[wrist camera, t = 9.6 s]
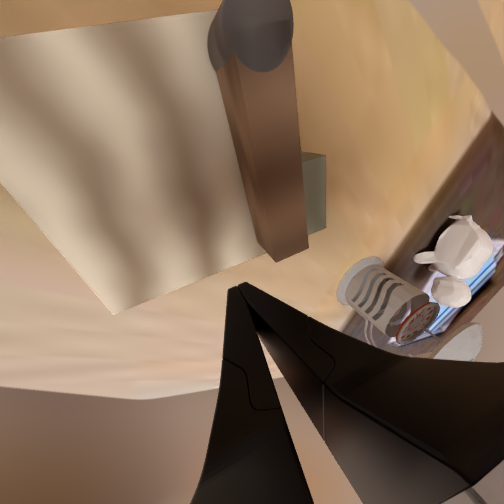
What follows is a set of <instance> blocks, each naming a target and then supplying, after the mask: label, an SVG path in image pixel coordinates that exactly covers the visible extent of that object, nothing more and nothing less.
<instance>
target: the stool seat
mask: <svg viewBox="0 0 504 504" xmlns="http://www.w3.org/2000/svg"><path fill="white" fill-rule="evenodd" d="M217 11H218V10H211V11H203V12H195V13H187V14H179V15H172V16H164V17H156V18H148V19H140V20H133V21H125V22H117V23H109V24H101V25H93V26H86V27H78V28H70V29H62V30H54V31H47V32H39V33H31V34H23V35H15V36H8V37H0V183H1V184H2V185H3V187H4V188H5V189H6V190H7V191H8V192H9V194H10V195H11V196H12V197H13V198H14V199H15V201H16V202H17V203H18V204H19V205H20V206H21V208H22V209H23V210H24V211H25V212H26V213H27V215H28V216H29V217H30V218H31V219H32V220H33V222H34V223H35V224H36V225H37V226H38V228H39V229H40V230H41V231H42V232H43V233H44V235H45V236H46V237H47V238H48V239H49V240H50V242H51V243H52V244H53V245H54V246H55V247H56V249H57V250H58V251H59V252H60V253H61V254H62V256H63V257H64V258H65V259H66V260H67V261H68V263H69V264H70V265H71V266H72V267H73V268H74V270H75V271H76V272H77V273H78V274H79V275H80V277H81V278H82V279H83V280H84V281H85V282H86V284H87V285H88V286H89V287H90V288H91V290H92V291H93V292H94V293H95V294H96V295H97V297H98V298H99V299H100V300H101V301H102V302H103V304H104V305H105V306H106V307H107V308H108V309H109V311H110V312H111V313H112V314H113V315H114V314H117V313H119V312H122V311H124V310H127V309H129V308H132V307H134V306H137V305H139V304H142V303H144V302H147V301H149V300H151V299H154V298H156V297H159V296H161V295H164V294H166V293H169V292H171V291H174V290H176V289H179V288H181V287H184V286H186V285H189V284H191V283H193V282H196V281H198V280H201V279H203V278H206V277H208V276H211V275H213V274H216V273H218V272H221V271H223V270H226V269H228V268H231V267H233V266H235V265H238V264H240V263H243V262H245V261H248V260H250V259H253V258H255V257H258V256H260V255H263V254H265V253H267V252H266V251H265V250H264V249H263V248H262V247H261V246H260V245H259V244H258V242H257V239H256V234H255V230H254V226H253V222H252V218H251V214H250V210H249V206H248V202H247V197H246V193H245V189H244V185H243V181H242V177H241V173H240V169H239V165H238V160H237V156H236V152H235V148H234V144H233V140H232V136H231V132H230V128H229V123H228V119H227V115H226V111H225V107H224V103H223V99H222V95H221V91H220V86H219V82H218V78H217V74H216V71H215V70H214V68H213V66H212V64H211V61H210V58H209V54H208V47H207V38H208V31H209V28H210V25H211V23H212V21H213V19H214V17H215V15H216V13H217ZM301 160H302V172H303V184H304V196H305V208H306V220H307V232H308V235H309V234H312V233H314V232H317V231H319V230H322V229H324V228H326V155H321V154H314V153H306V152H301Z"/></svg>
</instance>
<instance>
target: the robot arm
mask: <svg viewBox="0 0 504 504" xmlns="http://www.w3.org/2000/svg"><path fill="white" fill-rule="evenodd" d="M258 336H259V337H258ZM259 338H260V339H261V341H262V343H263V344H264V346H265V347H266V349H267V351H268V352H269V354H270V355H271V357H272V359H273V360H274V362H275V363H276V365H277V367H278V368H279V370H280V371H281V373H282V375H283V376H284V378H285V379H286V381H287V382H288V384H289V386H290V387H291V389H292V390H293V392H294V394H295V395H296V397H297V398H298V400H299V402H300V403H301V405H302V407H303V408H304V410H305V411H306V413H307V414H308V416H309V417H310V419H311V421H312V423H313V424H314V426H315V427H316V429H317V431H318V432H319V434H320V435H321V437H322V438H323V440H324V441H325V443H326V445H327V446H328V448H329V450H330V451H331V453H332V455H333V456H334V458H335V459H336V461H337V463H338V464H339V466H340V467H341V469H342V470H343V472H344V474H345V475H346V477H347V479H348V480H349V482H350V483H351V485H352V487H353V488H354V490H355V491H356V493H357V495H358V496H359V498H360V499H361V501H362V503H363V504H504V362H499V363H492V362H490V363H489V362H474V361H460V360H445V359H431V358H417V357H407V356H401V355H397V354H393V353H390V352H387V351H384V350H382V349H379V348H377V347H375V346H372V345H370V344H367V343H365V342H363V341H360V340H358V339H356V338H353V337H351V336H348V335H346V334H344V333H342V332H339V331H337V330H335V329H333V328H330V327H328V326H326V325H324V324H323V323H321V322H319V321H317V320H315V319H313V318H311V317H308V316H307V315H306V314H304V313H302V312H300V311H298V310H297V309H295V308H293V307H291V306H289V305H287V304H286V303H284V302H282V301H280V300H278V299H277V298H275V297H273V296H271V295H269V294H267V293H266V292H264V291H262V290H260V289H258V288H256V287H255V286H253V285H251V284H249V283H247V282H244V283H241V284H239V285H238V286H234V287H232V288H230V289H228V293H227V305H226V318H225V331H224V344H223V357H222V358H223V360H222V368H221V378H220V386H219V393H218V398H217V404H216V409H215V414H214V419H213V424H212V429H211V434H210V439H209V444H208V449H207V454H206V458H205V462H204V467H203V470H202V474H201V477H200V480H199V483H198V486H197V488H196V491H195V494H194V496H193V498H192V501H191V503H190V504H314V502H313V499H312V496H311V493H310V490H309V487H308V484H307V482H306V479H305V476H304V473H303V470H302V467H301V464H300V461H299V458H298V455H297V452H296V450H295V447H294V444H293V441H292V438H291V435H290V432H289V429H288V426H287V423H286V420H285V417H284V414H283V411H282V408H281V405H280V402H279V399H278V395H277V392H276V389H275V386H274V383H273V380H272V377H271V374H270V371H269V368H268V365H267V362H266V359H265V356H264V352H263V349H262V346H261V343H260V340H259Z"/></svg>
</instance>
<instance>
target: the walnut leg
mask: <svg viewBox="0 0 504 504" xmlns="http://www.w3.org/2000/svg"><path fill="white" fill-rule="evenodd" d="M292 37H293V12H292V7H291V3H290V0H223V2H222V4H221V5H220V7H219V9H218V11H217V13H216V15H215V17H214V19H213V21H212V23H211V25H210V28H209V31H208V38H207V47H208V54H209V58H210V61H211V64H212V66H213V68H214V70H215V71H216V74H217V78H218V82H219V86H220V91H221V95H222V99H223V103H224V107H225V111H226V115H227V119H228V123H229V128H230V132H231V136H232V140H233V144H234V148H235V152H236V156H237V160H238V165H239V169H240V173H241V177H242V181H243V185H244V189H245V193H246V197H247V202H248V206H249V210H250V214H251V218H252V222H253V226H254V230H255V234H256V239H257V242H258V244H259V245H260V246H261V247H262V248H263V249H264V250H265V251H266V252H267V253H268V254H269V255H270V256H271V258H272V259H273V260H274V261H275V262H279V261H281V260H283V259H285V258H288V257H290V256H292V255H294V254H297V253H299V252H301V251H303V250H306V249H308V248H309V244H308V232H307V220H306V208H305V196H304V184H303V172H302V160H301V148H300V136H299V124H298V112H297V100H296V88H295V76H294V64H293V52H292Z"/></svg>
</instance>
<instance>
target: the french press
mask: <svg viewBox="0 0 504 504" xmlns="http://www.w3.org/2000/svg"><path fill="white" fill-rule="evenodd" d="M386 278H390V279H389V280H388V281H387V282H386ZM394 279H395V280H394ZM393 283H397V284H396V288H395V289H394V290H393V291H392V287H393ZM402 284H403V285H402ZM387 289H388V297H387V299H386V301H385V303H384V304H383V305H382V303H383V301H384V297H385V294H386V291H387ZM411 298H412V300H411V312H410V315H409V316H408V317H406V318H405V320H404V321H403V322H402V323H401V324H399V325H394V326H391V325H390V324H389V323H390V322H395V321H397V320H399V319H401V318H402V317H403V315H404V314H405V312H406V308H407V301H408V300H410V299H411ZM337 299H338V301H339V302H340V303H341V304H342V305H350V306H351V307H352V308H354V309H355V310H356V311H357V312H358V313H359V314H360V315H361V316H362V317H364V318H365V320H366V323H365V329H364V331H365V338H366V340H367V343H368V344H370V342H369V340H368V338H367V334H366V329H367V325H368V320H369V321H370V322H371V326H370V339H371V341H372V343H373V345H374V346H375V347H377V346H376V345H375V343H374V341H373V339H372V327H373V324H374V325H375V326H376V327H377V328H378V329H380V330H381V331H382V332H383V333H384V334H385V333H386V334H387V335H388V336H390V337H396V341H397V343H399V344H401V345H402V344H408V343H410V342H412V341H413V340H415V339H416V337H418V336H420V334H421V333H424V331H425V332H428V333H429V334H430V335H432V336H433V337H435V338H436V339H437V340H439V341H440V342H441V343H440V344H439V345H438V346H437V347H436V348H435V350H434V351H433V352H432V353H431V354H430V356H429V357H428V358H431V359H445V360H460V361H474V362H475V360H474V359H475V357H476V355H477V354H478V353H479V351H480V349H481V345H482V326H481V324H479V323H474V322H473V323H471V322H469V323H467V324H465V325H463V326H461V327H460V328H458V329H457V330H455V331H454V332H453V333H451V334H450V335H449V336H448V337H447V338H446V339H444V340H443V341H442V340H440V339H439V338H437V337H436V336H435V335H433V334H432V333H431V332H429V331H428V329H427V328H429V327H430V326H431V325H432V323H434V322H433V321H435V319H436V317H437V316H438V313H439V311H440V306H439V304H438V303H433V302H429V296H428V294H426V293H424V292H423V291H421V290H419V289H418V288H416V287H414V286H413V285H411V284H409V283H408V282H406V281H404V280H403V279H401V278H399V277H398V276H396V275H394V274H393V273H391V272H389V271H388V270H386V269H384V264H383V262H382V261H381V259H380V258H377V257H373V256H372V257H368V258H365V259H362V260H361V261H359V262H358V263H356V264H355V265H353V266H352V267H351V268H350V269H349V270H348V271H347V272H346V274H345V275H344V276H343V278H342V280H341V281H340V283H339V285H338V289H337ZM375 304H376V306H375V307H374V308H371V309H370V308H369V306H373V305H375ZM401 306H402V308H401V310H400V312H399V314H398V315H396V316H394V317H393V318H391V317H392V316H393V315H394V313H395V312H396V311H397V310H398V309H399V308H400V307H401ZM384 308H386V309H385V311H384V313H380V314H377V312H378V311H380V310H382V309H384ZM367 319H368V320H367ZM429 325H430V326H429ZM386 334H385V335H386ZM421 335H422V334H421ZM370 345H371V344H370ZM406 355H407V356H408V357H414V356H413V355H412V354H409V353H406Z"/></svg>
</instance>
